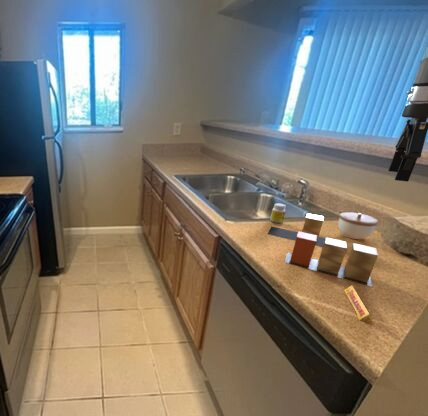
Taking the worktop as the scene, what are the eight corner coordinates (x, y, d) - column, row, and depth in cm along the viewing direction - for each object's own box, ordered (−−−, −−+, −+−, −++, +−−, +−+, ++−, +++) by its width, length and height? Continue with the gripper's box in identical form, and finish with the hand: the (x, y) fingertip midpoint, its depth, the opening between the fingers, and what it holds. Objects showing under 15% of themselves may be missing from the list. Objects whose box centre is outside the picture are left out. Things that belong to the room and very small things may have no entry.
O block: (317, 238, 103) (323, 216, 100) (316, 243, 100) (323, 220, 97) (301, 234, 106) (307, 213, 103) (299, 239, 103) (305, 217, 99)
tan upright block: (337, 267, 85) (346, 241, 82) (337, 274, 82) (347, 248, 79) (317, 262, 88) (325, 237, 85) (317, 269, 85) (325, 243, 81)
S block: (309, 260, 90) (317, 235, 86) (308, 266, 86) (316, 241, 83) (291, 255, 92) (298, 231, 89) (290, 261, 89) (296, 236, 86)
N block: (365, 274, 82) (376, 248, 78) (367, 282, 78) (378, 255, 75) (344, 268, 84) (353, 243, 81) (344, 276, 81) (353, 249, 78)
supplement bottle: (282, 226, 114) (287, 207, 111) (269, 224, 117) (273, 205, 114) (282, 222, 118) (286, 203, 115) (269, 220, 121) (273, 202, 117)
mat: (325, 238, 104) (325, 238, 103) (324, 248, 97) (324, 247, 97) (271, 226, 114) (271, 226, 114) (267, 234, 108) (267, 234, 107)
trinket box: (345, 228, 111) (352, 206, 108) (378, 239, 102) (386, 216, 99) (327, 232, 108) (334, 210, 105) (359, 245, 99) (368, 221, 95)
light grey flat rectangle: (369, 274, 82) (369, 273, 82) (372, 287, 76) (372, 286, 76) (287, 252, 94) (287, 252, 94) (284, 263, 89) (284, 262, 89)
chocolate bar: (355, 292, 74) (357, 286, 74) (373, 323, 64) (376, 315, 64) (343, 290, 75) (345, 283, 75) (359, 319, 65) (362, 312, 65)
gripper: (399, 102, 89) (376, 167, 96) (415, 103, 71) (386, 182, 78) (433, 102, 84) (407, 169, 92) (460, 103, 66) (424, 187, 74)
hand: (397, 176), depth 85 cm, fingers open, 13 cm apart
